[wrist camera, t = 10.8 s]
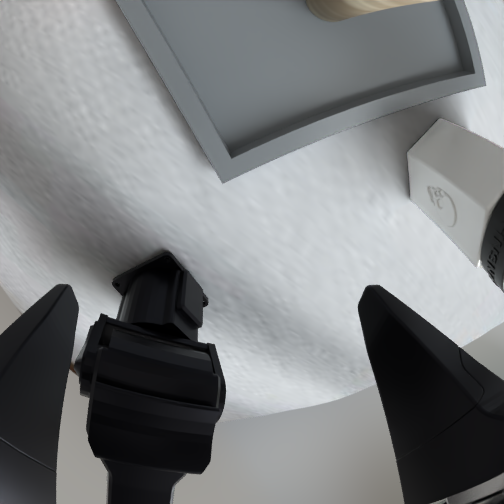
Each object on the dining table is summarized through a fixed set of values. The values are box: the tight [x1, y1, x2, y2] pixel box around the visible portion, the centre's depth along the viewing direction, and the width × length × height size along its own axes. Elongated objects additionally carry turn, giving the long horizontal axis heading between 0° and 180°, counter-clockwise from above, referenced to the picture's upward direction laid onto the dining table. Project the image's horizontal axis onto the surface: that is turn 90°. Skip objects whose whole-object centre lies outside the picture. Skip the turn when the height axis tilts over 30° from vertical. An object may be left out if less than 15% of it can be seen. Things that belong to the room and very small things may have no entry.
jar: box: [407, 118, 504, 292], centre depth 15 cm, size 9×8×12 cm
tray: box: [115, 0, 486, 184], centre depth 12 cm, size 22×16×2 cm
